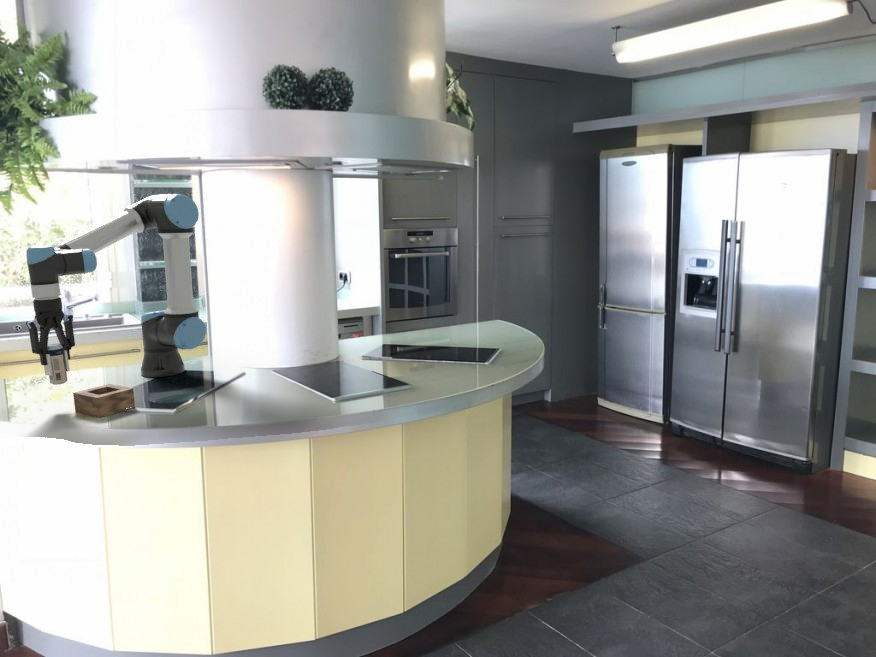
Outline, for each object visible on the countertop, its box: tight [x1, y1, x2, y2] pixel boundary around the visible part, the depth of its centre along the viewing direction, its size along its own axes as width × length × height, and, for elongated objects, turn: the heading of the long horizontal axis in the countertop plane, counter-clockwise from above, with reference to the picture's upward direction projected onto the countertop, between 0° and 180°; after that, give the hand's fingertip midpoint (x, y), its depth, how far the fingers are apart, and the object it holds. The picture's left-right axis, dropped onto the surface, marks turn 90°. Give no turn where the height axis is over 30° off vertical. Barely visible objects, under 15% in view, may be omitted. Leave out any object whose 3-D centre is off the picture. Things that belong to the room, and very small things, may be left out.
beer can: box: [47, 343, 68, 386], centre depth 220 cm, size 5×5×12 cm
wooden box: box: [72, 383, 136, 418], centre depth 219 cm, size 12×12×6 cm
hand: (57, 372), depth 220 cm, fingers closed on beer can, 5 cm apart
